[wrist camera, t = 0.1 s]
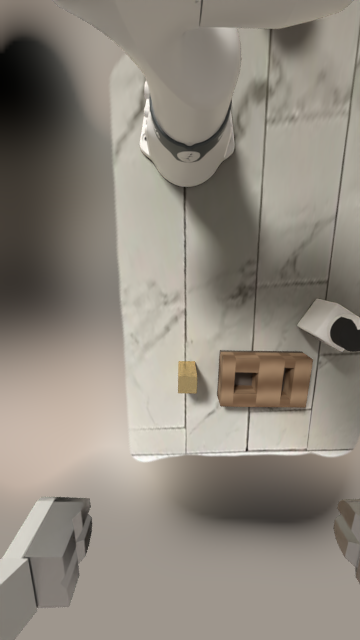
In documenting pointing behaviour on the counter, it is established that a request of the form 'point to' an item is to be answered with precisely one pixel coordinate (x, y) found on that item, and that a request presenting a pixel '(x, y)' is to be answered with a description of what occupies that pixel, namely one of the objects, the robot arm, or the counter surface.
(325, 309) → the container
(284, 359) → the walnut socket block
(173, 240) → the counter surface
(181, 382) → the light wooden square bit
